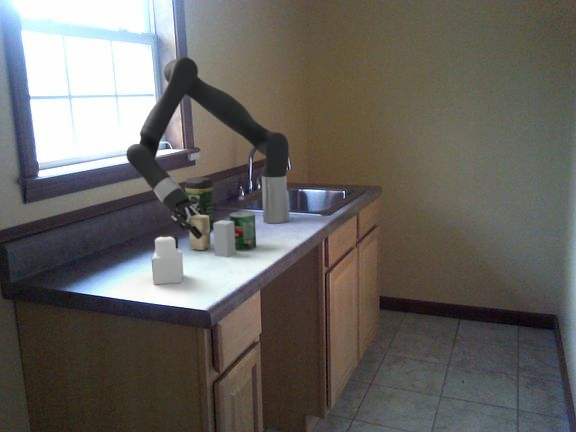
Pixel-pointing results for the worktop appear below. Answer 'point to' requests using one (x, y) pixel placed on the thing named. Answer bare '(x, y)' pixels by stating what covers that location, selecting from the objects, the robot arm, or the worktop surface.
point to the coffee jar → (201, 195)
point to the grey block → (224, 238)
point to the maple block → (204, 228)
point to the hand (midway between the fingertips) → (205, 235)
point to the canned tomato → (244, 230)
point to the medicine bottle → (167, 260)
